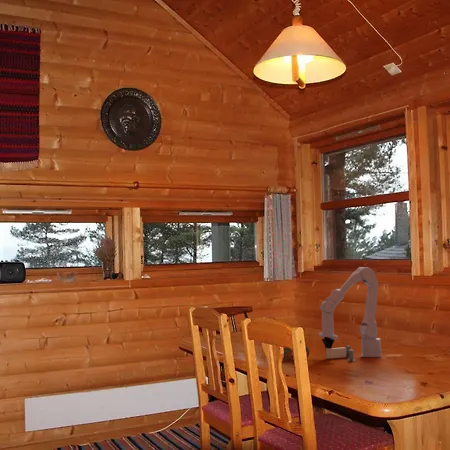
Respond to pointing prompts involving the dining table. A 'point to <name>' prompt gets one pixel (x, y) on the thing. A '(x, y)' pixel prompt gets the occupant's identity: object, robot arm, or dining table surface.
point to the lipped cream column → (335, 352)
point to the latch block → (351, 355)
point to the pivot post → (347, 351)
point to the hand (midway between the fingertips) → (328, 353)
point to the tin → (289, 355)
